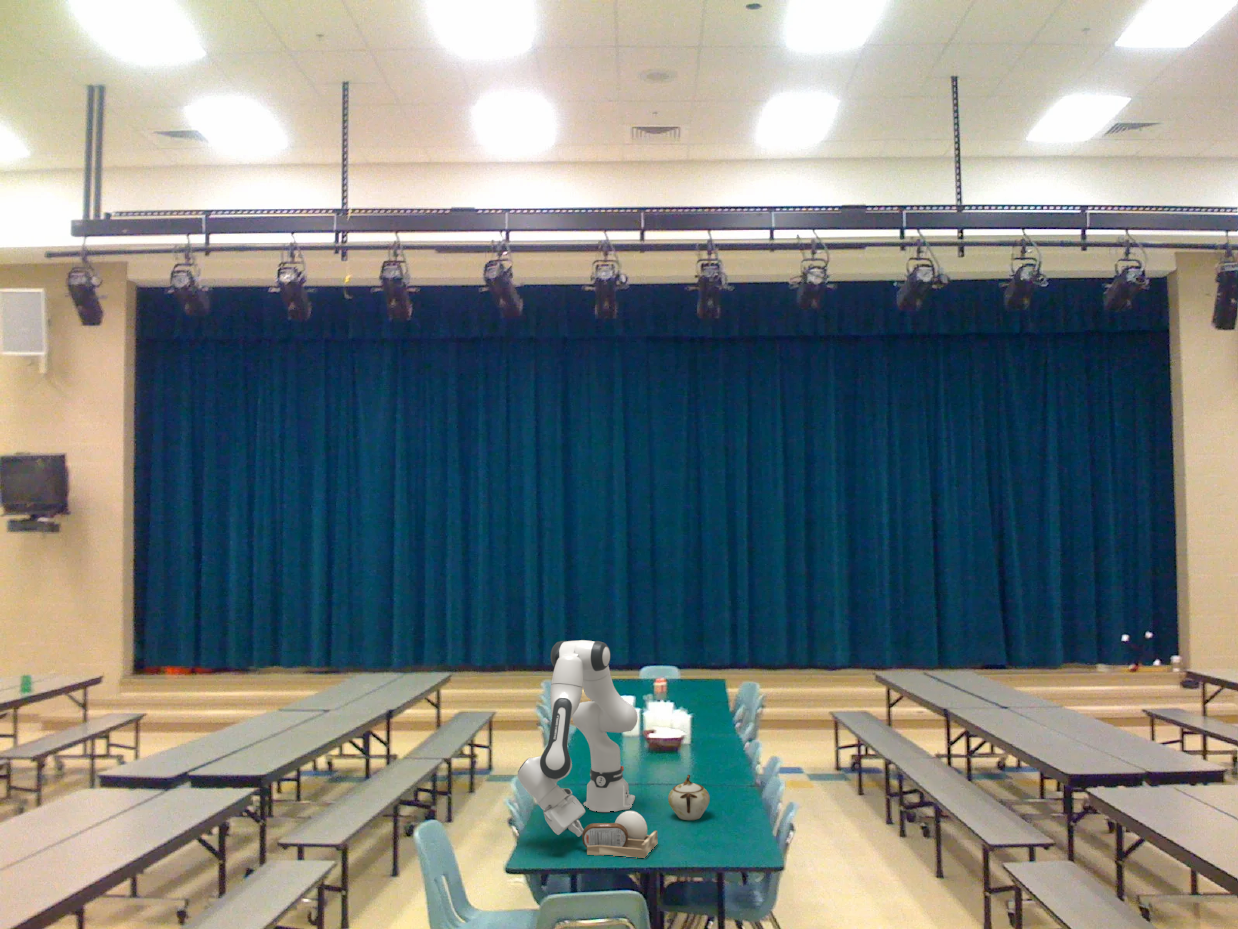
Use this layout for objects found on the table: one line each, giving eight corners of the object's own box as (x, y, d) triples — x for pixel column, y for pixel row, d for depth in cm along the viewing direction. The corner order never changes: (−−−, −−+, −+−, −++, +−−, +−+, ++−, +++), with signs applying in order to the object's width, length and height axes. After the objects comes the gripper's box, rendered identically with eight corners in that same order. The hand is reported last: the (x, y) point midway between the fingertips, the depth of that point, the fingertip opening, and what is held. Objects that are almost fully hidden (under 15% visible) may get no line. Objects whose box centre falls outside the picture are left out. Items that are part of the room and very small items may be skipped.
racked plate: (616, 843, 316) (615, 809, 317) (647, 846, 313) (646, 812, 313) (614, 845, 315) (613, 811, 316) (646, 847, 311) (645, 813, 312)
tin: (628, 848, 311) (627, 822, 312) (628, 851, 308) (627, 825, 308) (582, 849, 311) (582, 823, 312) (582, 852, 308) (581, 826, 309)
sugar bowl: (710, 825, 332) (709, 781, 333) (667, 825, 334) (666, 782, 335) (709, 808, 352) (708, 767, 353) (669, 809, 353) (668, 767, 354)
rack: (602, 839, 320) (602, 826, 321) (657, 844, 314) (657, 830, 314) (585, 855, 305) (585, 841, 305) (643, 861, 299) (642, 846, 299)
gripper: (547, 804, 306) (576, 838, 302) (571, 787, 325) (598, 818, 321) (535, 817, 307) (563, 851, 303) (559, 799, 326) (586, 831, 323)
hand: (581, 834), depth 313 cm, fingers closed
